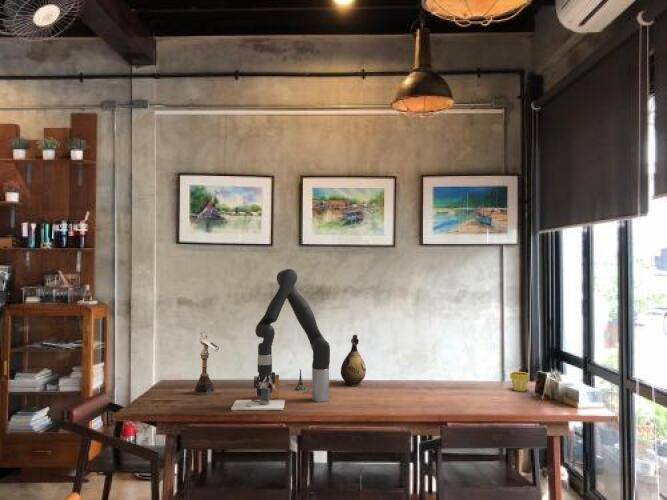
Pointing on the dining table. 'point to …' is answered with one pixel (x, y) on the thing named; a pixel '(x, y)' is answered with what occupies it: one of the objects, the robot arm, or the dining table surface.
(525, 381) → the plant pot
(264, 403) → the tuning knob
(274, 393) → the small box
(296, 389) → the eiffel tower figurine
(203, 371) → the pedestal telescope
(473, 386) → the dining table surface
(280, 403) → the gauge board
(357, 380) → the ceramic jug
